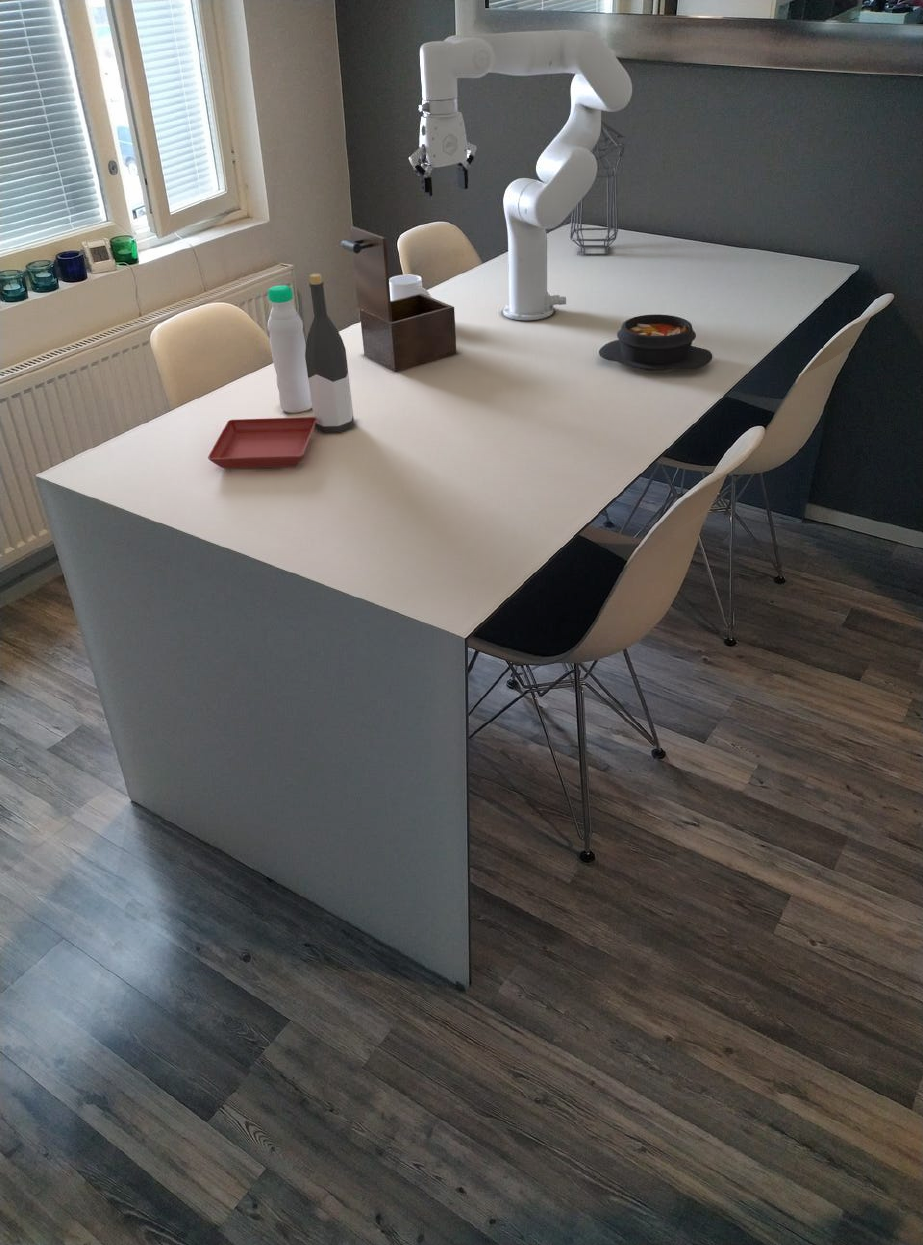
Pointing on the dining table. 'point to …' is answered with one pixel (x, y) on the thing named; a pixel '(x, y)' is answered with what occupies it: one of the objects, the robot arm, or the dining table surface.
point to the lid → (370, 272)
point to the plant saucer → (262, 442)
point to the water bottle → (288, 351)
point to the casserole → (656, 344)
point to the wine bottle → (327, 368)
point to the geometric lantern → (614, 139)
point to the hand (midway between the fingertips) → (445, 191)
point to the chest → (410, 333)
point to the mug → (406, 286)
